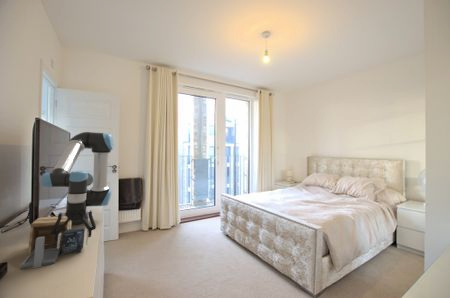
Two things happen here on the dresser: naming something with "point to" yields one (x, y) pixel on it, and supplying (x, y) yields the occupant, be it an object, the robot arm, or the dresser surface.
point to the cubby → (46, 230)
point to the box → (73, 240)
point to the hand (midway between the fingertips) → (73, 245)
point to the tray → (41, 255)
